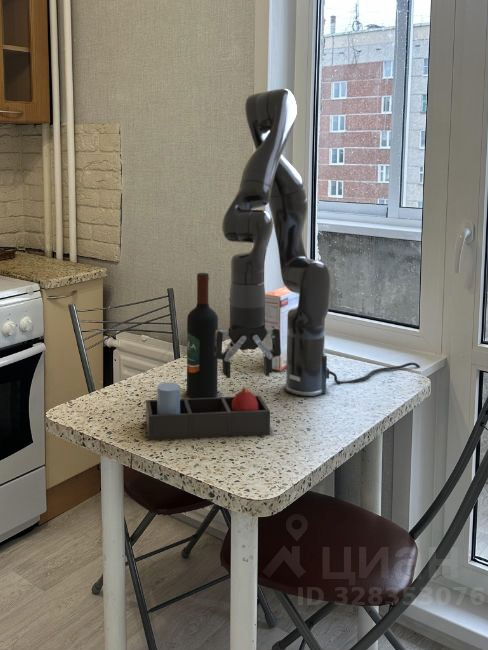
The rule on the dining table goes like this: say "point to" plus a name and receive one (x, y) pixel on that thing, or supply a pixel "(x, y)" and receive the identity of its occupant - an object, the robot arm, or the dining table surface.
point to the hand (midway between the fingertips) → (247, 376)
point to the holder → (206, 419)
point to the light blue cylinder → (168, 398)
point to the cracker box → (278, 321)
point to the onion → (244, 401)
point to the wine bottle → (201, 345)
